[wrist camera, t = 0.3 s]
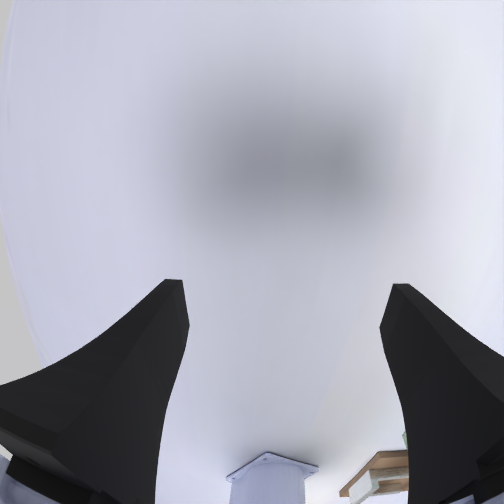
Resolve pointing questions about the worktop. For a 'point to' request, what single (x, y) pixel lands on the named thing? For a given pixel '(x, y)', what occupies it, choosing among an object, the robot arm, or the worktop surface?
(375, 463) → the board
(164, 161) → the worktop surface
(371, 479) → the end caps
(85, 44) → the worktop surface
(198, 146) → the worktop surface
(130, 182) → the worktop surface
